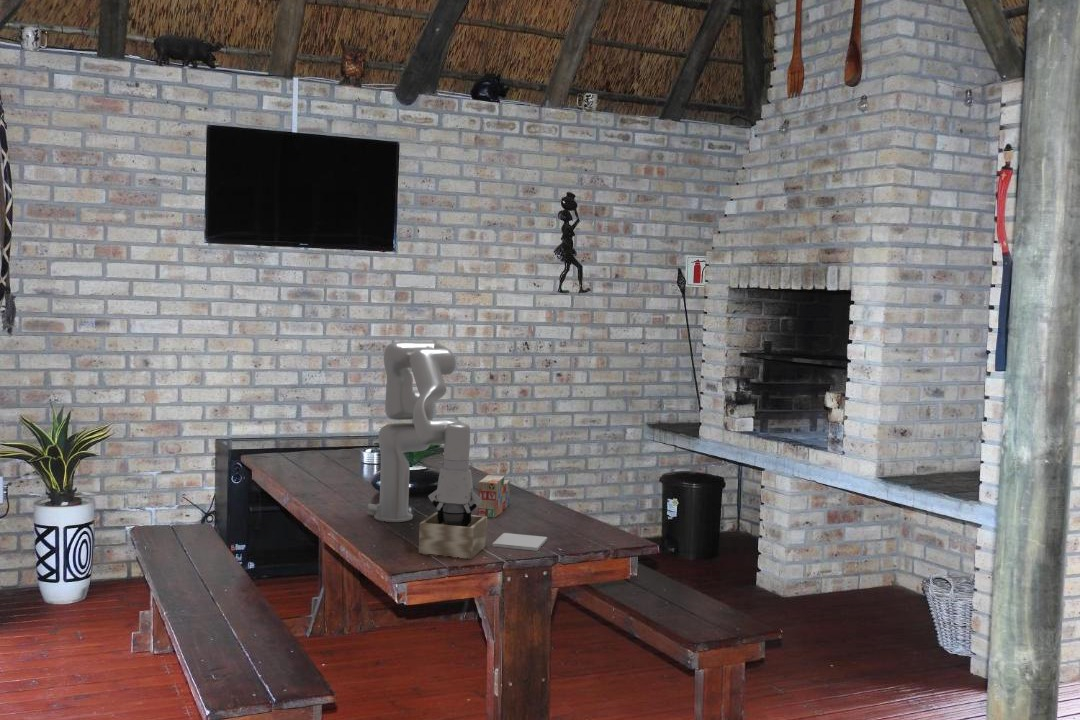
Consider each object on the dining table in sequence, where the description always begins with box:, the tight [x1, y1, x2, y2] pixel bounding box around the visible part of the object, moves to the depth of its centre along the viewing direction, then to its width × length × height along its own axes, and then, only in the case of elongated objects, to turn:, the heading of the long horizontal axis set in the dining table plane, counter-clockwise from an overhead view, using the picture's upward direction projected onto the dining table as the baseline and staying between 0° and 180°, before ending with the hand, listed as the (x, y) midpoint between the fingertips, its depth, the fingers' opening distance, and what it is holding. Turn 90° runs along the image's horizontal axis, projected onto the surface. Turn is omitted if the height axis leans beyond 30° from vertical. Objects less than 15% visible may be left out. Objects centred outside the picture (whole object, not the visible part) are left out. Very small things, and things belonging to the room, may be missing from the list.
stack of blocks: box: [477, 474, 511, 518], centre depth 376 cm, size 21×6×12 cm, turn 169°
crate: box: [418, 511, 488, 560], centre depth 321 cm, size 16×16×9 cm
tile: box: [492, 532, 548, 552], centre depth 333 cm, size 14×14×1 cm
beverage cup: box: [442, 503, 466, 527], centre depth 321 cm, size 7×7×20 cm
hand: (454, 523), depth 321 cm, fingers closed on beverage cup, 7 cm apart
